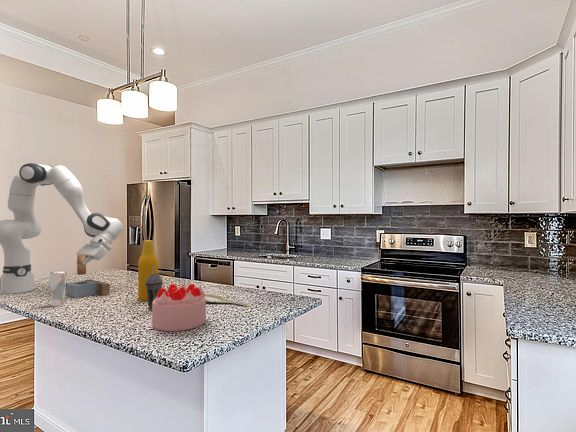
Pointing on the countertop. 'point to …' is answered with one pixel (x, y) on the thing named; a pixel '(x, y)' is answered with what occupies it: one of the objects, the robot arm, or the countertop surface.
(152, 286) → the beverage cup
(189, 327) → the cake
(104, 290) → the backstop wall
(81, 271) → the dowel
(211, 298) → the spoon
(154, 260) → the beer bottle
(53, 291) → the beer glass
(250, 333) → the countertop surface
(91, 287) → the socket block
